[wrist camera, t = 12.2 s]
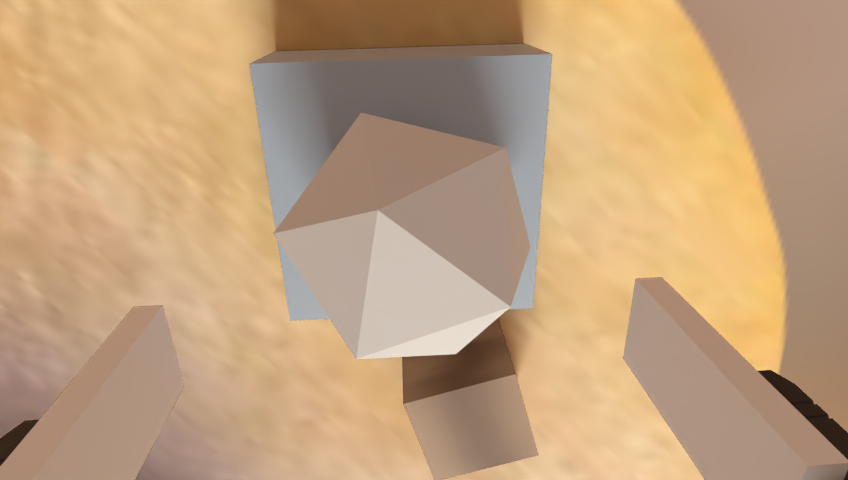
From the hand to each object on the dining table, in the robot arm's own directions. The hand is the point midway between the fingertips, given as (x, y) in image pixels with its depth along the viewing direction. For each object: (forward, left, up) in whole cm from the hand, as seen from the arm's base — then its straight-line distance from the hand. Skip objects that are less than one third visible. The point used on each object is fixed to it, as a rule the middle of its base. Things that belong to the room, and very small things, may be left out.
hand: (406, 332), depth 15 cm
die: (0, 0, -10) cm, 10 cm away
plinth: (0, 0, -15) cm, 15 cm away
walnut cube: (+3, -13, -15) cm, 20 cm away
